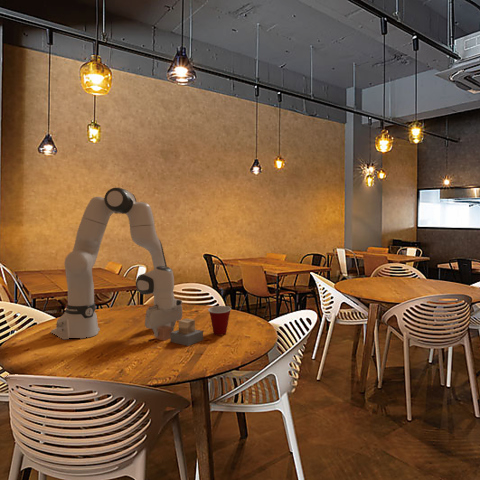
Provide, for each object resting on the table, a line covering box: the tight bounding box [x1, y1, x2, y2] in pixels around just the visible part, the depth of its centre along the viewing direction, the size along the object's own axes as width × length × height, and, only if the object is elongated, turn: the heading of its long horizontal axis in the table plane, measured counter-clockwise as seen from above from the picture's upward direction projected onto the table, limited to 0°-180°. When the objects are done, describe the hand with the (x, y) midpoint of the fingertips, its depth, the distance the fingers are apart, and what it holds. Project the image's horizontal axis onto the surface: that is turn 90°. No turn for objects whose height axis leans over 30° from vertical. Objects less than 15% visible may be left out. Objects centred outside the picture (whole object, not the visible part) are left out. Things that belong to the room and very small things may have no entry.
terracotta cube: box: [155, 325, 172, 341], centre depth 175 cm, size 5×5×5 cm
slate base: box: [169, 328, 204, 347], centre depth 172 cm, size 10×10×4 cm
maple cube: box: [178, 318, 196, 334], centre depth 171 cm, size 5×5×5 cm
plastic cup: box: [207, 305, 232, 336], centre depth 183 cm, size 11×11×12 cm
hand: (164, 333), depth 176 cm, fingers open, 8 cm apart
